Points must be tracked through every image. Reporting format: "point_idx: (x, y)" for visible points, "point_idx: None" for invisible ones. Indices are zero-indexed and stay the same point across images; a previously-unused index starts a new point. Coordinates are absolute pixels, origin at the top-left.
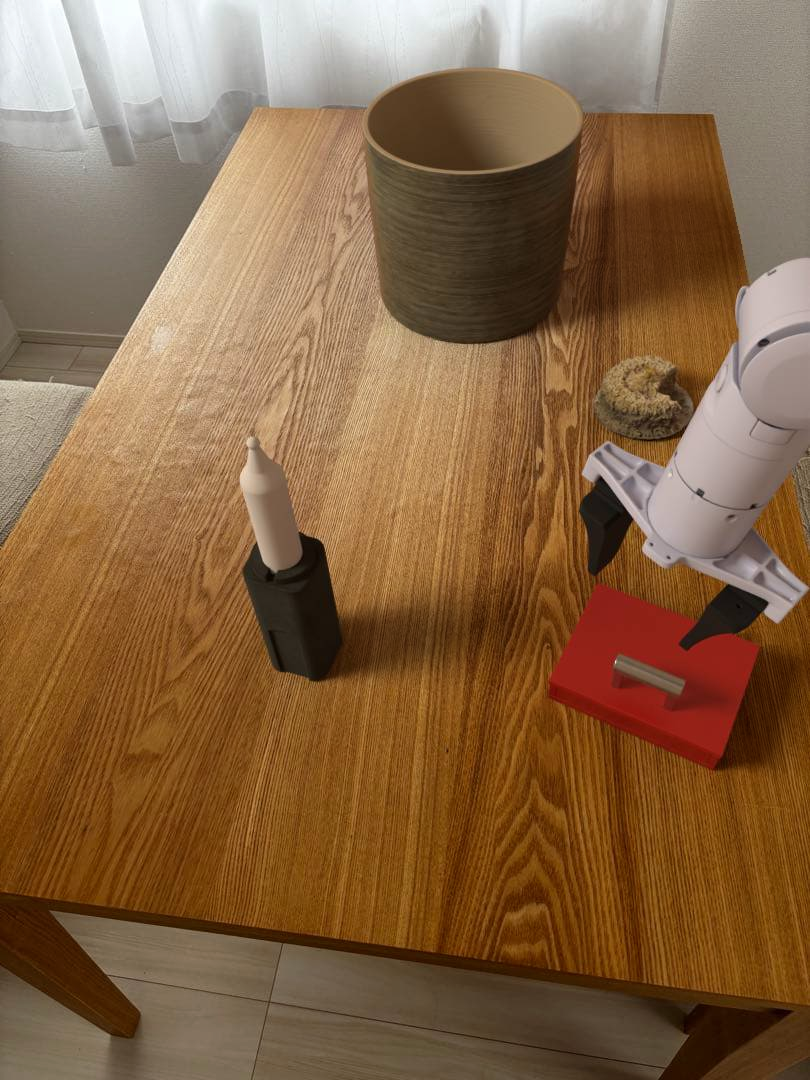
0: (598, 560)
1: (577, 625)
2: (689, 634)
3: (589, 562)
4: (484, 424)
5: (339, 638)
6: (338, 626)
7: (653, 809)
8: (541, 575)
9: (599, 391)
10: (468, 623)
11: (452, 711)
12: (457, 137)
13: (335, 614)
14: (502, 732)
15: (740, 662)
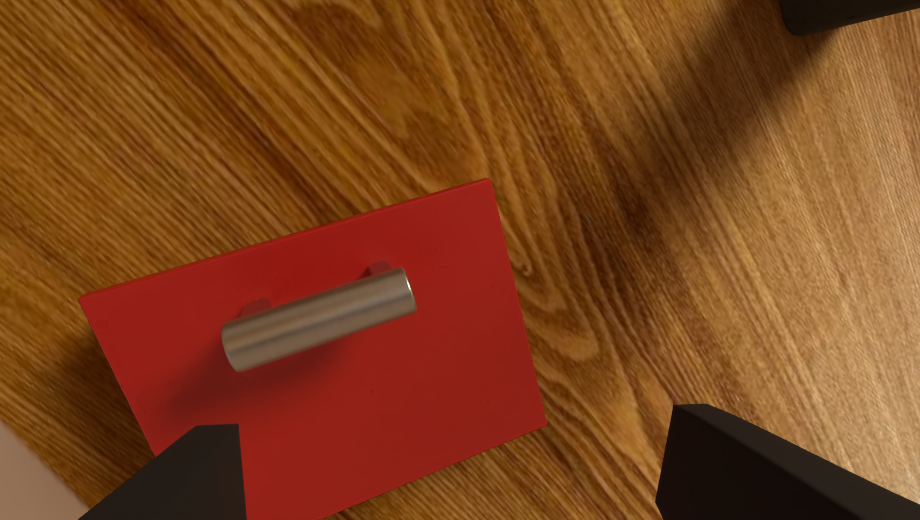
0: (786, 472)
1: (522, 321)
2: (153, 508)
3: (768, 433)
4: None
5: (808, 8)
6: (842, 4)
7: (158, 131)
8: (612, 368)
9: None
10: (650, 207)
11: (574, 42)
12: None
13: None
14: (482, 69)
15: None
